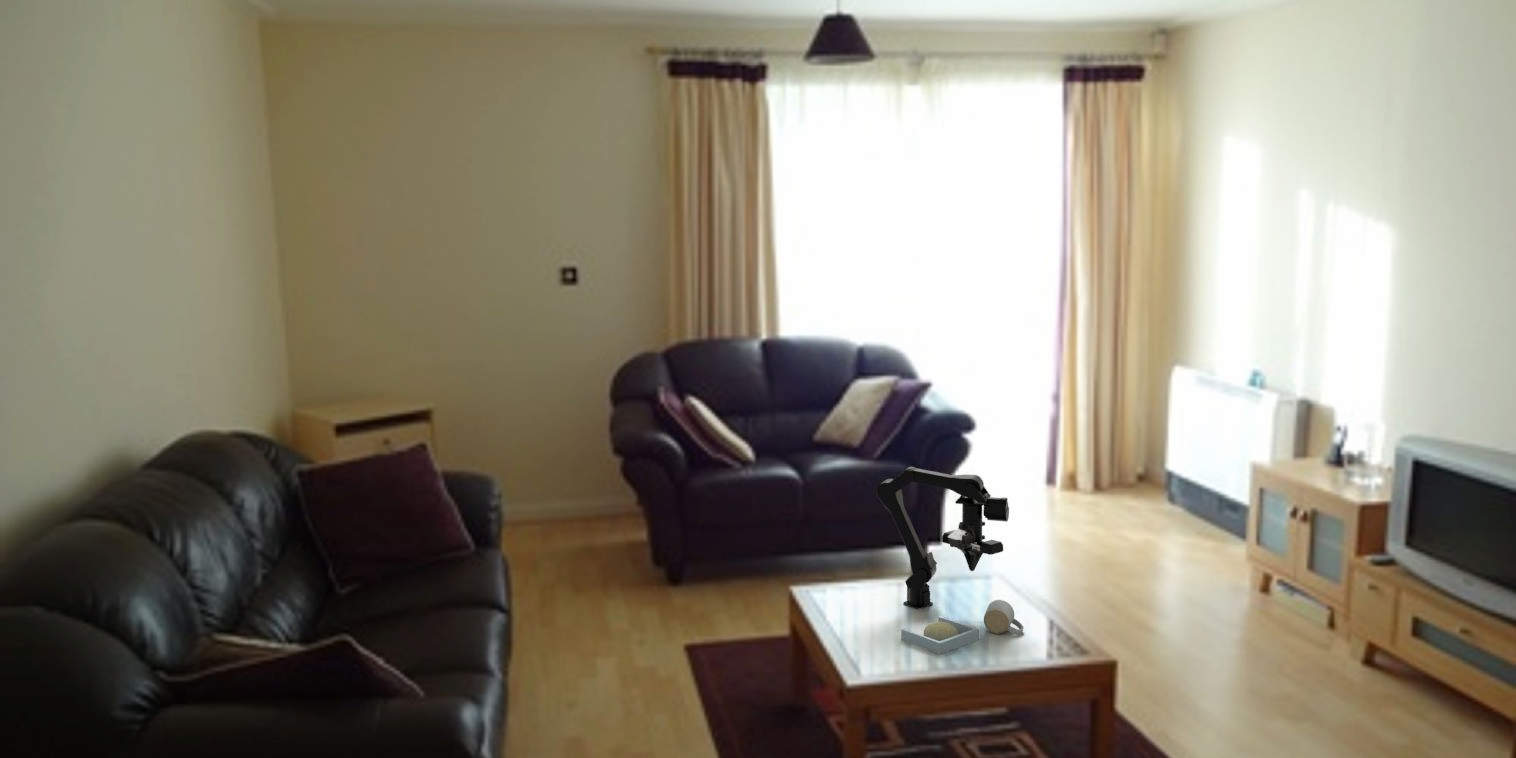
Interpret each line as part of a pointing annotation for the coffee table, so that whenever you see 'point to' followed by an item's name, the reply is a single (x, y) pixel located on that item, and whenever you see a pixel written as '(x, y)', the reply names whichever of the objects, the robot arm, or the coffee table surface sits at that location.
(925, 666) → the coffee table surface
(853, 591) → the coffee table surface
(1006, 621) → the ceramic mug
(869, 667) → the coffee table surface
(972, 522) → the robot arm
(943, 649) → the corral
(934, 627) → the sea urchin shell
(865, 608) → the coffee table surface
